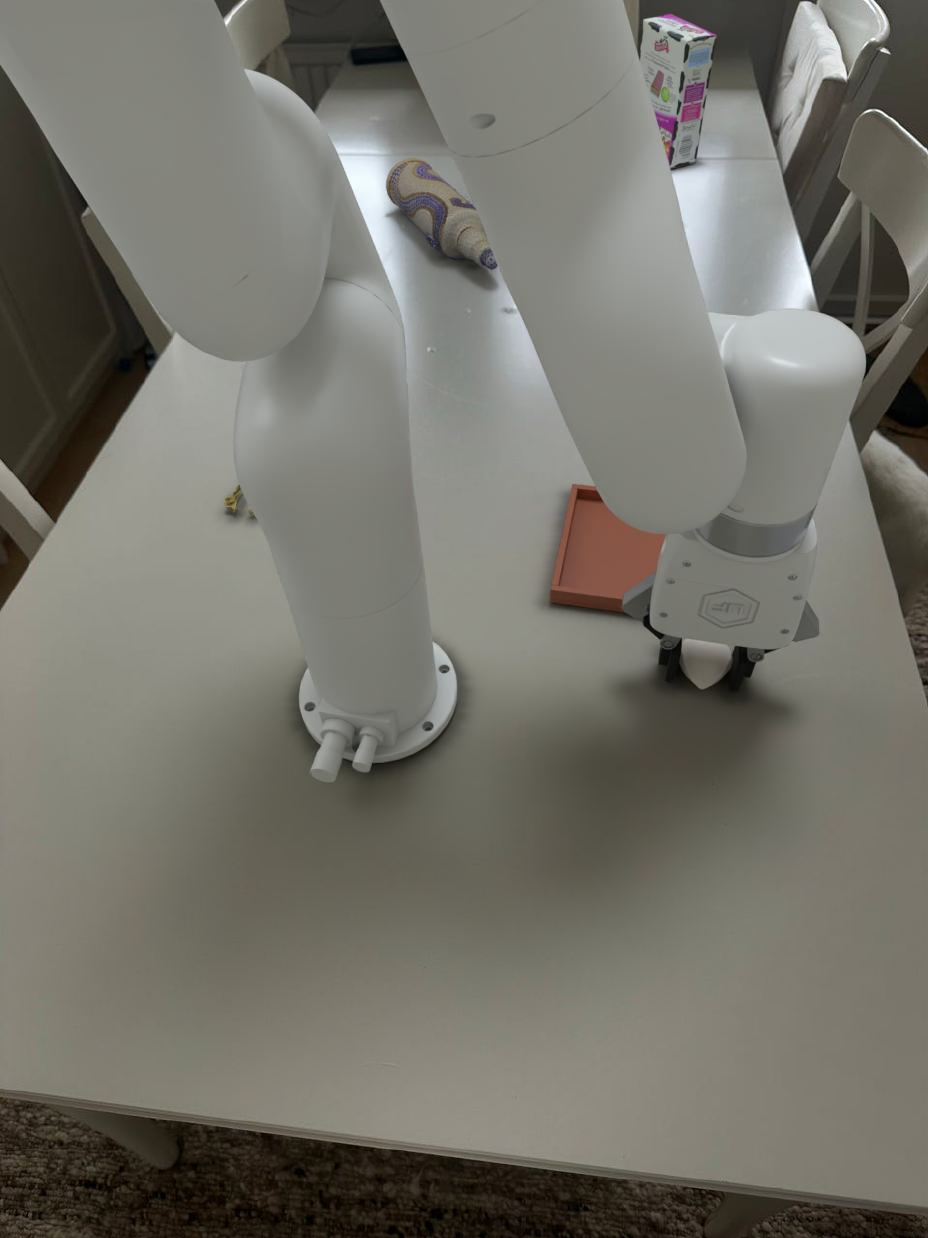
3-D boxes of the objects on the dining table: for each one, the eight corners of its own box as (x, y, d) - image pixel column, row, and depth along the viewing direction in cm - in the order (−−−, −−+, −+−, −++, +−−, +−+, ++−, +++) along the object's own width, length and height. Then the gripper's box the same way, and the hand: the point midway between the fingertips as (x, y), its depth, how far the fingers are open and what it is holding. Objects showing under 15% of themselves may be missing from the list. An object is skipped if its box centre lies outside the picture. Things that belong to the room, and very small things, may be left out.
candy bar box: (698, 162, 127) (719, 34, 114) (669, 170, 126) (687, 41, 113) (656, 135, 134) (671, 10, 121) (628, 142, 132) (641, 17, 120)
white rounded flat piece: (730, 653, 71) (736, 634, 69) (726, 703, 68) (733, 685, 66) (677, 644, 71) (681, 625, 69) (671, 693, 68) (675, 675, 66)
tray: (717, 625, 72) (721, 612, 71) (549, 602, 75) (550, 589, 73) (722, 514, 81) (726, 500, 79) (571, 496, 83) (572, 483, 82)
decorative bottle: (385, 211, 122) (380, 162, 116) (434, 199, 123) (430, 150, 118) (465, 297, 106) (463, 244, 101) (519, 281, 108) (520, 228, 103)
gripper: (611, 530, 54) (591, 694, 68) (895, 564, 51) (812, 728, 66) (623, 453, 59) (602, 621, 73) (885, 481, 56) (809, 650, 70)
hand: (702, 670), depth 69 cm, fingers closed on white rounded flat piece, 4 cm apart
